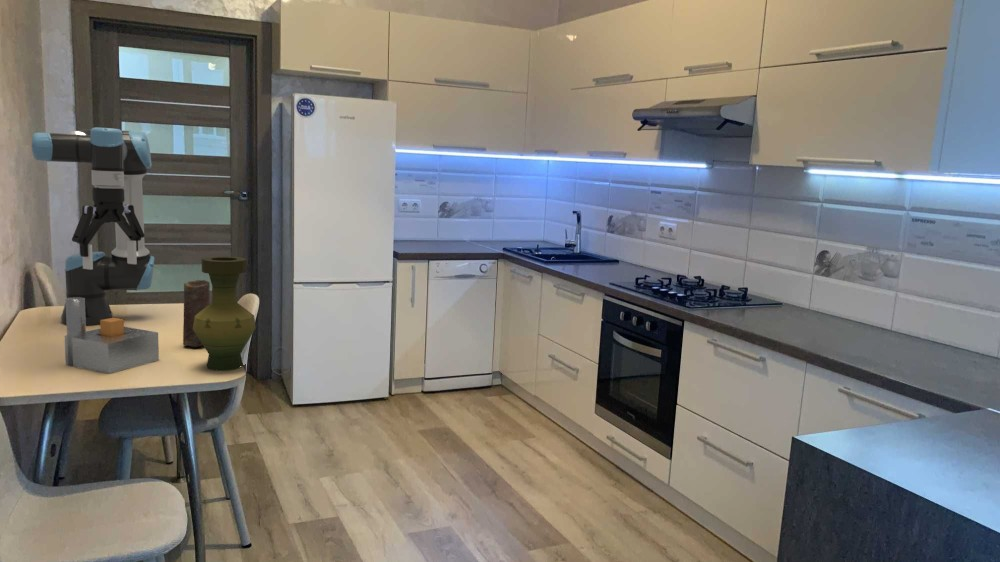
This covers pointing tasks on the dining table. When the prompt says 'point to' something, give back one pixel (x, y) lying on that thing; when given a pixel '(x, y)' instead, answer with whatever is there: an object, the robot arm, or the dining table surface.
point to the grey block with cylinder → (105, 344)
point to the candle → (194, 308)
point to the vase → (224, 315)
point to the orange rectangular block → (112, 327)
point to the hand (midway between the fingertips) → (110, 266)
